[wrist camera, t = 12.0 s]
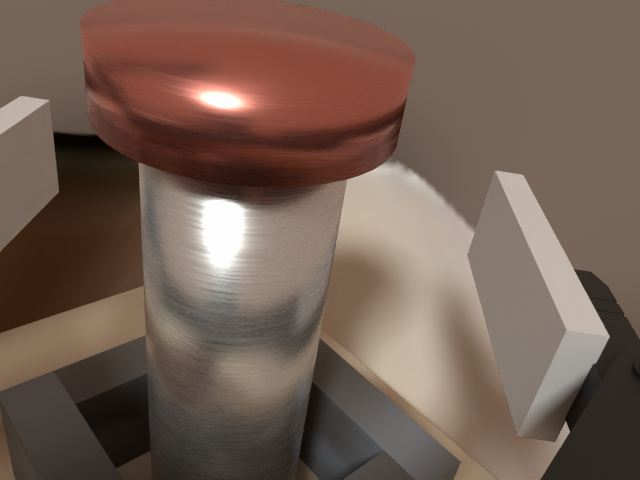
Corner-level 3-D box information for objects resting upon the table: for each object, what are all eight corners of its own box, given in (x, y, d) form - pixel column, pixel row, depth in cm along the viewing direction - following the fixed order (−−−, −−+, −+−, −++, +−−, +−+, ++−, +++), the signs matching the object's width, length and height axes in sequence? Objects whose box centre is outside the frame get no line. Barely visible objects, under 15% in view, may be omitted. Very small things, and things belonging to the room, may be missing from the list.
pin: (94, 483, 18) (32, -5, 10) (251, 407, 21) (292, -9, 14) (179, 655, 14) (180, 111, 7) (352, 533, 18) (483, 70, 10)
